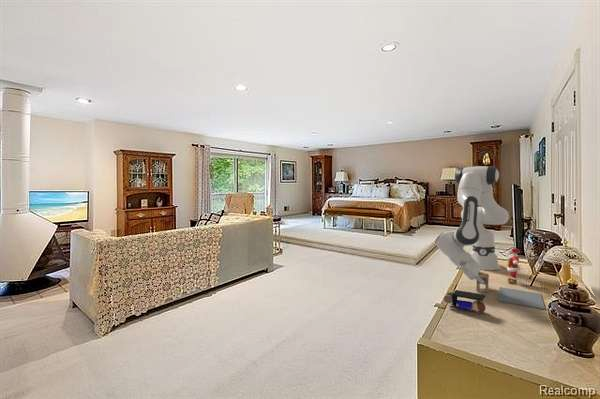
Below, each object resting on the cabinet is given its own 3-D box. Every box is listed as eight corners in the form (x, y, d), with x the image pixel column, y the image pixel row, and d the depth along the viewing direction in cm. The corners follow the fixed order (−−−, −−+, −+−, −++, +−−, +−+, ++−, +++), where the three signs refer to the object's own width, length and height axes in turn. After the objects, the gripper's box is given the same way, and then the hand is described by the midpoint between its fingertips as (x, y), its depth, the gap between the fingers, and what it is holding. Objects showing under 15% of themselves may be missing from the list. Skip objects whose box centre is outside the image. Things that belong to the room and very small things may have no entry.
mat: (499, 288, 145) (499, 287, 145) (540, 294, 135) (540, 293, 135) (498, 301, 129) (498, 300, 129) (544, 309, 119) (545, 308, 119)
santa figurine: (506, 275, 165) (506, 243, 164) (519, 276, 161) (519, 244, 160) (507, 288, 144) (507, 252, 143) (521, 290, 141) (522, 253, 140)
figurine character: (444, 310, 124) (484, 316, 114) (442, 293, 125) (482, 297, 115) (448, 305, 130) (487, 310, 120) (446, 288, 130) (485, 292, 120)
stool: (476, 287, 146) (477, 271, 146) (488, 289, 143) (489, 273, 143) (476, 290, 142) (476, 274, 142) (488, 292, 139) (488, 276, 139)
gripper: (464, 260, 138) (488, 283, 132) (468, 251, 154) (490, 272, 149) (454, 268, 140) (477, 291, 135) (459, 258, 157) (480, 279, 152)
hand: (484, 281), depth 142 cm, fingers closed on stool, 5 cm apart
